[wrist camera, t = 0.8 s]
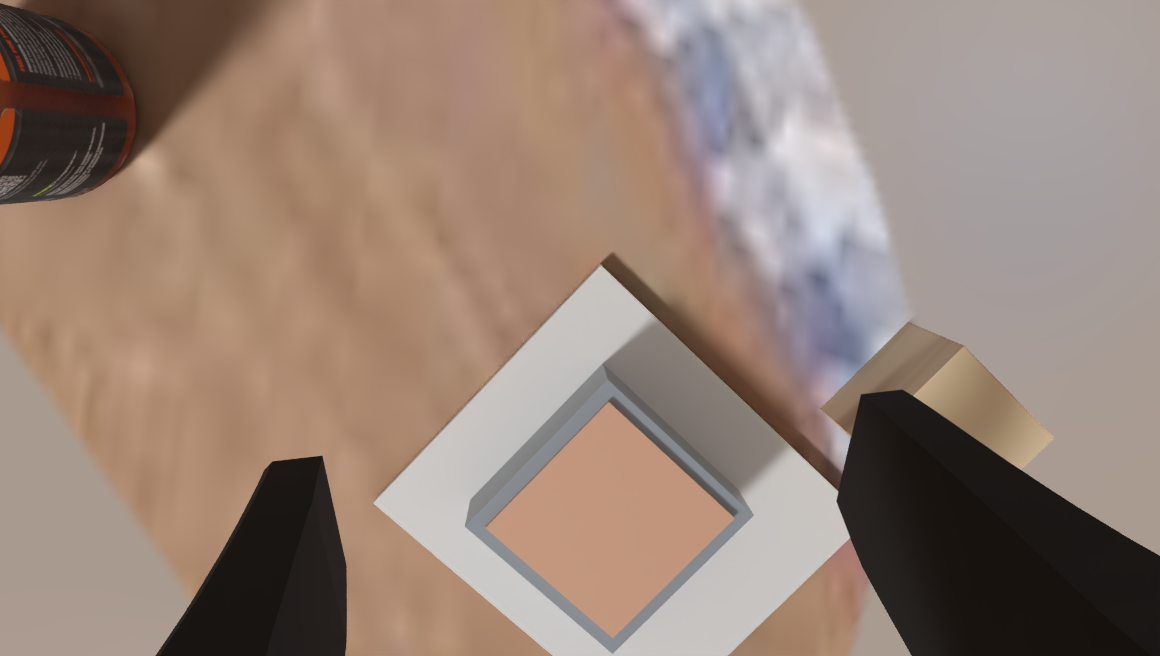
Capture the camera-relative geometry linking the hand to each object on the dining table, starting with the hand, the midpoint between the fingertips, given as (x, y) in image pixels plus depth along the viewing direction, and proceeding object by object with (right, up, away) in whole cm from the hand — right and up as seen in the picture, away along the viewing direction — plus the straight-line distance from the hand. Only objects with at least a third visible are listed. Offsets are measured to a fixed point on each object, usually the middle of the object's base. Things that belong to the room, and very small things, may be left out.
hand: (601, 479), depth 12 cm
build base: (+1, -5, +22) cm, 22 cm away
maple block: (+12, -1, +22) cm, 25 cm away
